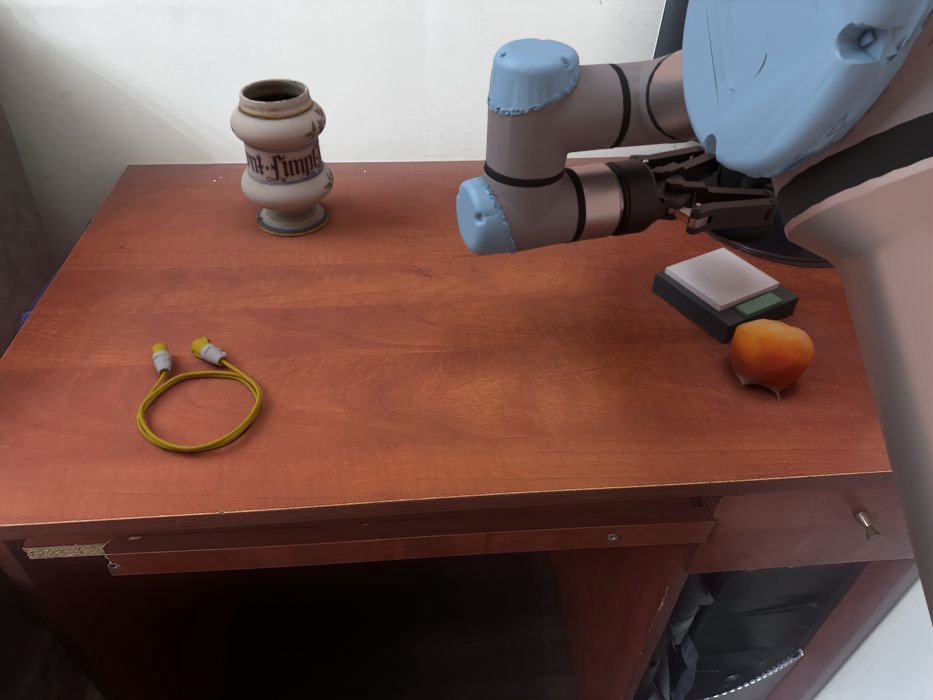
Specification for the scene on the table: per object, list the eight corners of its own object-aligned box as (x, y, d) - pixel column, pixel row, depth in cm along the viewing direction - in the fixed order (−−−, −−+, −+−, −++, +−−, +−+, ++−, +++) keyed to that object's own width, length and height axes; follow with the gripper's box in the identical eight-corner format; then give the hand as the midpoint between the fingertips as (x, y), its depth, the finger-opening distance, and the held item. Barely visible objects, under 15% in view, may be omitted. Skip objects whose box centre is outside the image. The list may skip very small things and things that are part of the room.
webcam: (780, 225, 82) (810, 143, 76) (761, 252, 77) (792, 167, 71) (715, 205, 85) (739, 124, 79) (693, 230, 80) (716, 146, 74)
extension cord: (274, 346, 77) (271, 331, 76) (253, 454, 65) (249, 440, 64) (158, 348, 76) (154, 334, 75) (116, 459, 64) (109, 444, 63)
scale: (792, 314, 86) (802, 291, 84) (723, 343, 81) (731, 320, 79) (719, 265, 93) (726, 243, 91) (651, 290, 88) (656, 267, 86)
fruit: (724, 391, 72) (745, 315, 71) (717, 379, 80) (736, 310, 79) (807, 411, 71) (830, 333, 69) (792, 396, 78) (812, 326, 77)
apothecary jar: (235, 210, 100) (210, 81, 88) (314, 190, 105) (301, 66, 93) (267, 250, 92) (245, 114, 80) (351, 226, 97) (341, 96, 86)
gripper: (561, 189, 82) (728, 167, 88) (648, 283, 68) (840, 249, 74) (570, 126, 77) (746, 108, 83) (665, 214, 63) (869, 183, 69)
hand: (790, 174), depth 79 cm, fingers closed on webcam, 7 cm apart
